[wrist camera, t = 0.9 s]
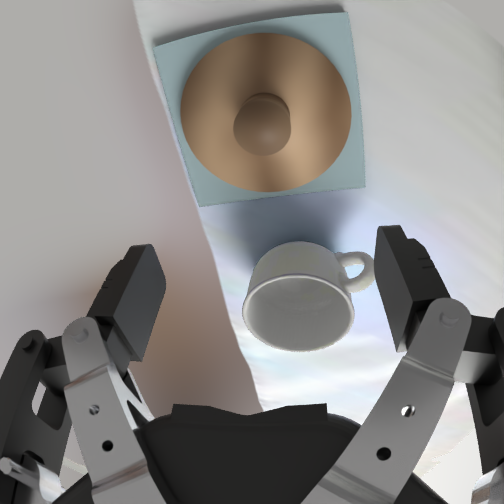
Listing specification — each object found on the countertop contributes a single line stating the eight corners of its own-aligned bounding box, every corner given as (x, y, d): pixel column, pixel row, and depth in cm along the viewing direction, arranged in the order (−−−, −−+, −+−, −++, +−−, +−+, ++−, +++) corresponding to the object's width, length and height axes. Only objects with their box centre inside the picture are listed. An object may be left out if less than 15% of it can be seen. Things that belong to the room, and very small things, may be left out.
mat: (345, 13, 20) (347, 12, 19) (363, 182, 29) (365, 187, 28) (156, 47, 23) (152, 47, 22) (201, 202, 32) (199, 207, 31)
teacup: (278, 310, 41) (275, 362, 35) (231, 249, 36) (218, 303, 29) (382, 272, 36) (397, 324, 29) (350, 197, 30) (366, 247, 24)
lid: (337, 23, 20) (349, 20, 16) (354, 178, 28) (366, 205, 24) (166, 54, 22) (142, 59, 18) (206, 196, 30) (193, 225, 27)
